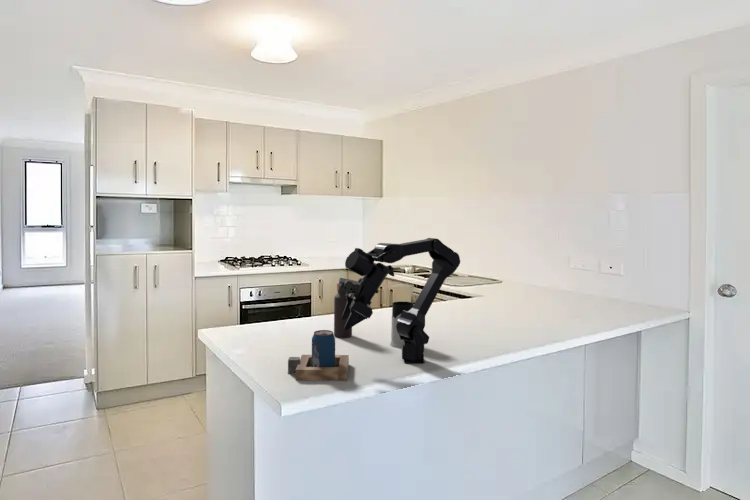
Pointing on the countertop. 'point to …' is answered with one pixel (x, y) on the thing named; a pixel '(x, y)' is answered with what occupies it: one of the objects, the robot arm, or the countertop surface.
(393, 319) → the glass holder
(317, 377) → the wooden square frame
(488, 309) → the countertop surface
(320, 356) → the soda can
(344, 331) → the bottle
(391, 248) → the robot arm
